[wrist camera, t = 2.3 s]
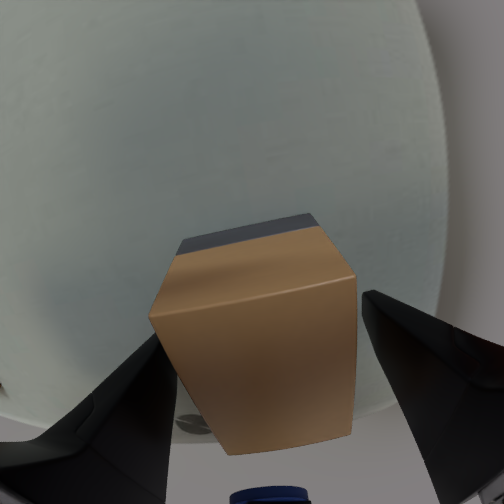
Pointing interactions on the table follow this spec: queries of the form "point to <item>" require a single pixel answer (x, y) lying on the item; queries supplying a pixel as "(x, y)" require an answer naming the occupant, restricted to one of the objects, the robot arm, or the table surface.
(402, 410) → the robot arm
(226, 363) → the eraser
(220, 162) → the table surface
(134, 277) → the table surface
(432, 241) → the table surface
